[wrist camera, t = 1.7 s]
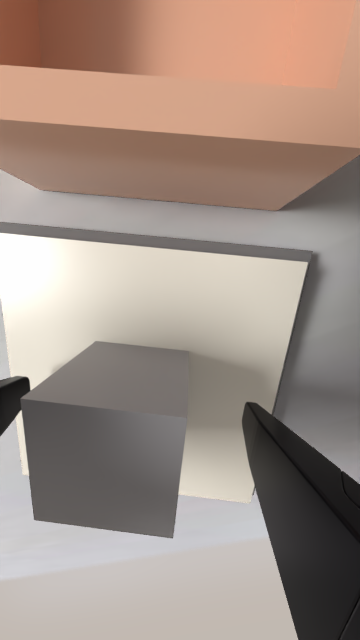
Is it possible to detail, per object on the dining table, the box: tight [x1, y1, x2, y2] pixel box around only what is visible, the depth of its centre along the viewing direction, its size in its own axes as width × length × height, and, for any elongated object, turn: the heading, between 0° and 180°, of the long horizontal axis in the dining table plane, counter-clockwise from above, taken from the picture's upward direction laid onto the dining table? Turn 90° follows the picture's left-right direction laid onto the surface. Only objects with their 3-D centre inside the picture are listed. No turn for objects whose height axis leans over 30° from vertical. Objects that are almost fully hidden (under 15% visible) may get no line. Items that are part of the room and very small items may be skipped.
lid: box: [0, 233, 308, 538], centre depth 8 cm, size 12×12×5 cm
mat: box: [0, 222, 313, 495], centre depth 10 cm, size 13×13×1 cm
